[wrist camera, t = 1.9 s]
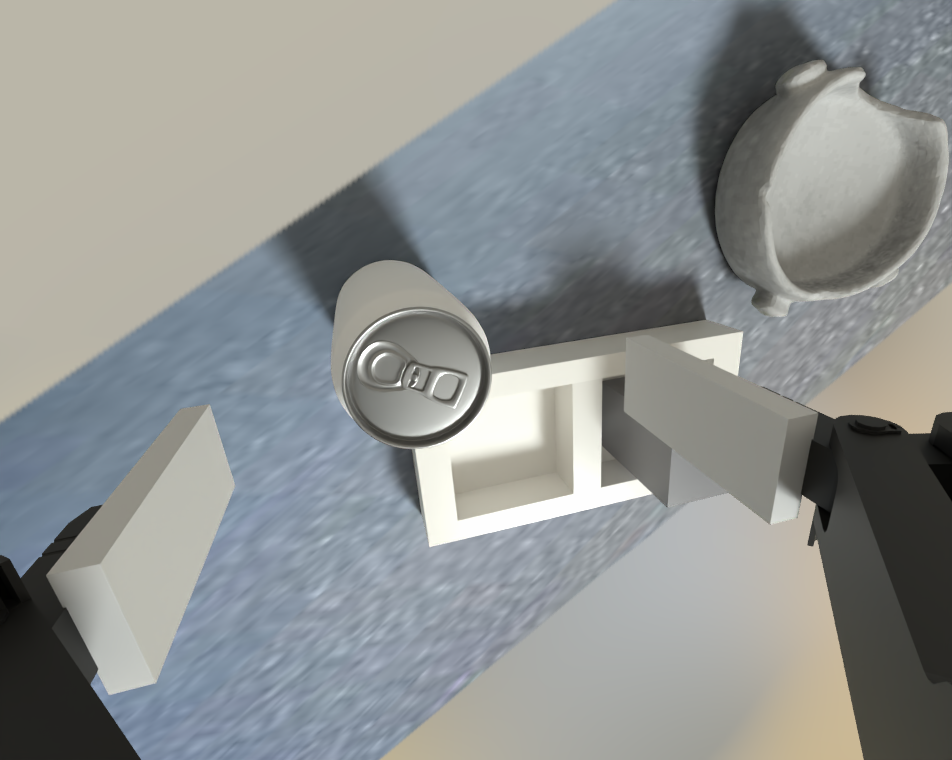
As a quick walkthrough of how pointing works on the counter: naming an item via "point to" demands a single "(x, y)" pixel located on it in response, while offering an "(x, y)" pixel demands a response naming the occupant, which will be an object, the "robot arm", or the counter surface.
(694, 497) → the seated block
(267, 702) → the counter surface
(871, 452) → the robot arm
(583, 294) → the counter surface
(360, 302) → the can
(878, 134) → the dish
